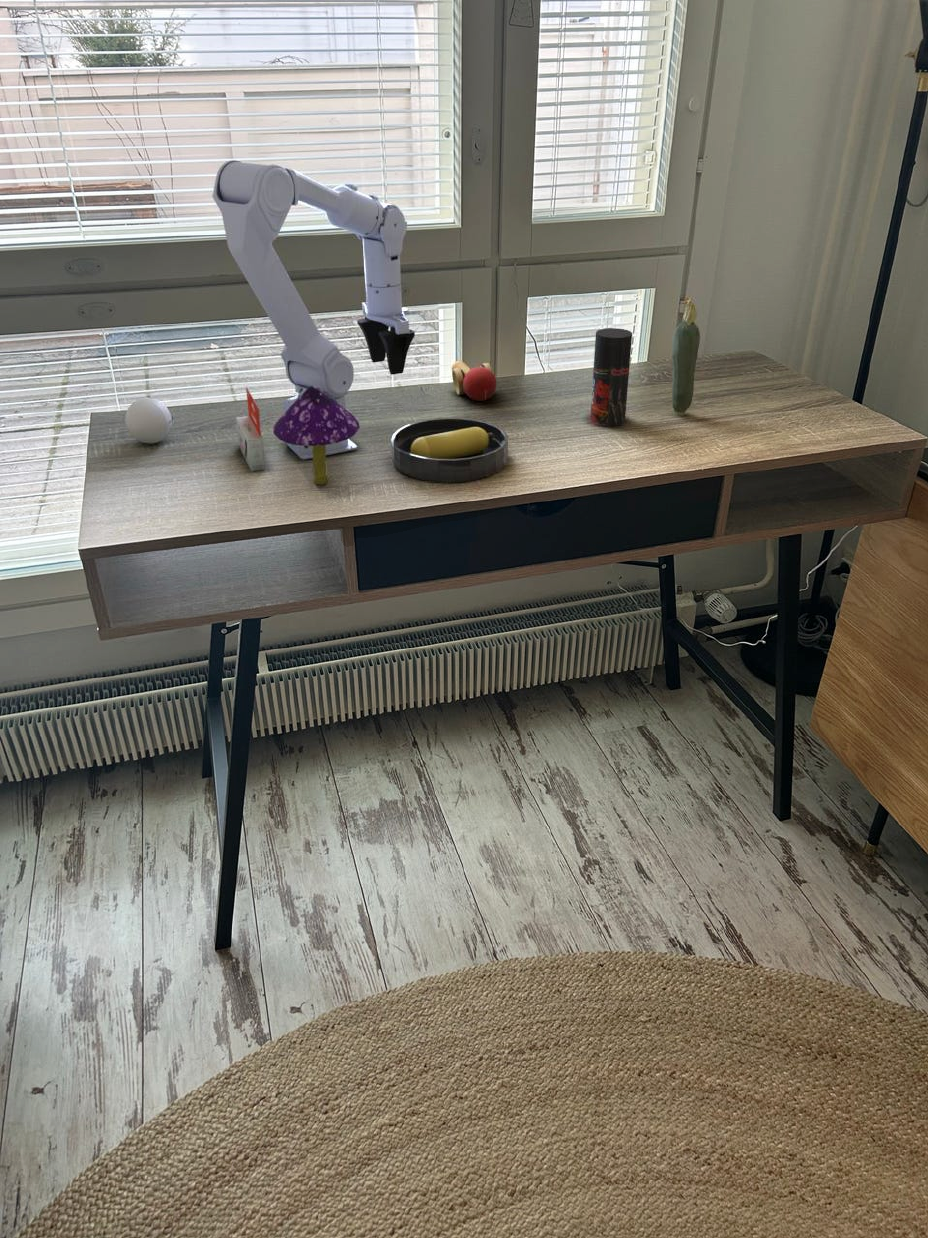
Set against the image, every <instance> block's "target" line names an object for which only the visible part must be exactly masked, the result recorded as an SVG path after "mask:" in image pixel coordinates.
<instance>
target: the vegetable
mask: <svg viewBox="0 0 928 1238" xmlns="http://www.w3.org/2000/svg"><path fill="white" fill-rule="evenodd" d="M684 306H686V307H685V310H684V313H683V321H682V322H680V323H679V324H678V325H677V327H676V328H675V330H674V332H673V336H672V337H673V338H672V347H671V348H672V350H671V351H672V353H671V355H672V364H673V369H672V372H673V373H672V386H671V387H672V388H671V392H672V393H671V406H672V409H673V412H674V413H675V414H676V415H677V416H680V415H682V414H683V415H684V414H685V413H686V412H687V410H688V409H689V408H691V405H692V402H693V397H694V391H695V390H694V389H695V374H696V373H695V372H696V365H697V359H698V355H699V347H700V343H701V341H700V340H701V333H700V332H701V331H700V329H699V326H698V325H697V323H695V320H696V319H697V316H698V310H697V307H696V305H695V304H694V301H693V298H691V297H689V296H686V297H685V303H684Z"/></svg>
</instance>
